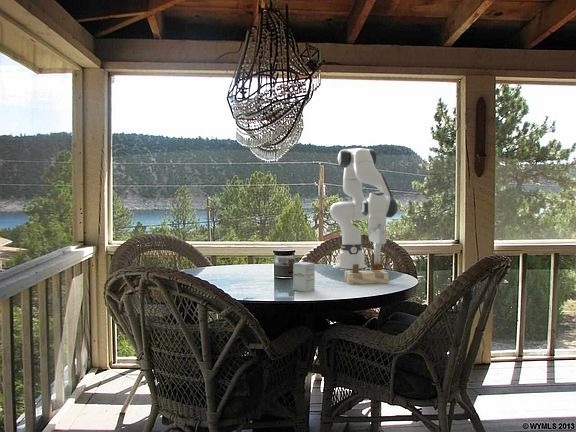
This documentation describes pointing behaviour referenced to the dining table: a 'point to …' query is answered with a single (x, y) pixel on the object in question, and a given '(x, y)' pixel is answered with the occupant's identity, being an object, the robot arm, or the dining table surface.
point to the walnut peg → (355, 268)
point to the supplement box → (303, 276)
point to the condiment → (376, 266)
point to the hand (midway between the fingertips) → (377, 251)
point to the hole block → (366, 277)
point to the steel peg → (376, 255)
